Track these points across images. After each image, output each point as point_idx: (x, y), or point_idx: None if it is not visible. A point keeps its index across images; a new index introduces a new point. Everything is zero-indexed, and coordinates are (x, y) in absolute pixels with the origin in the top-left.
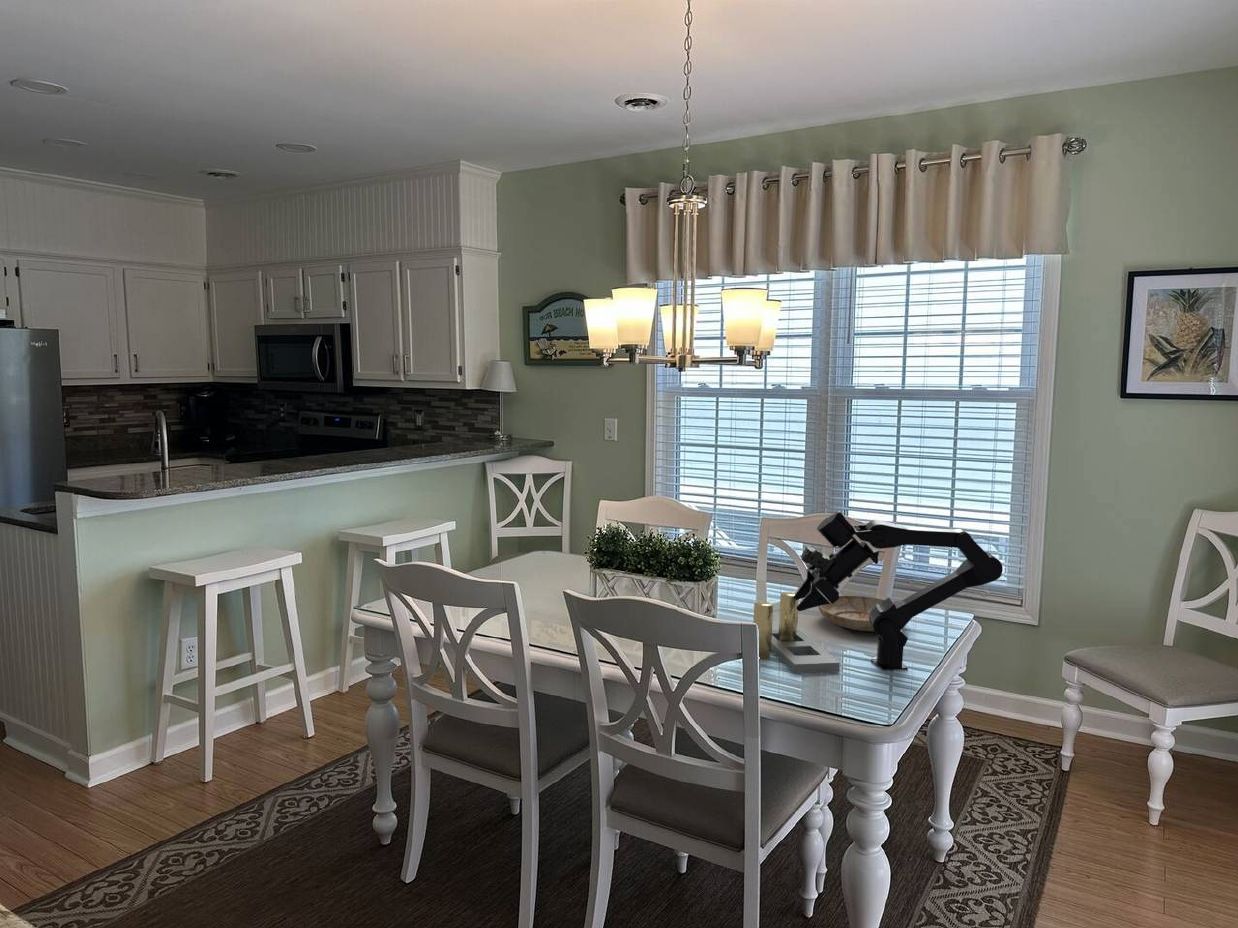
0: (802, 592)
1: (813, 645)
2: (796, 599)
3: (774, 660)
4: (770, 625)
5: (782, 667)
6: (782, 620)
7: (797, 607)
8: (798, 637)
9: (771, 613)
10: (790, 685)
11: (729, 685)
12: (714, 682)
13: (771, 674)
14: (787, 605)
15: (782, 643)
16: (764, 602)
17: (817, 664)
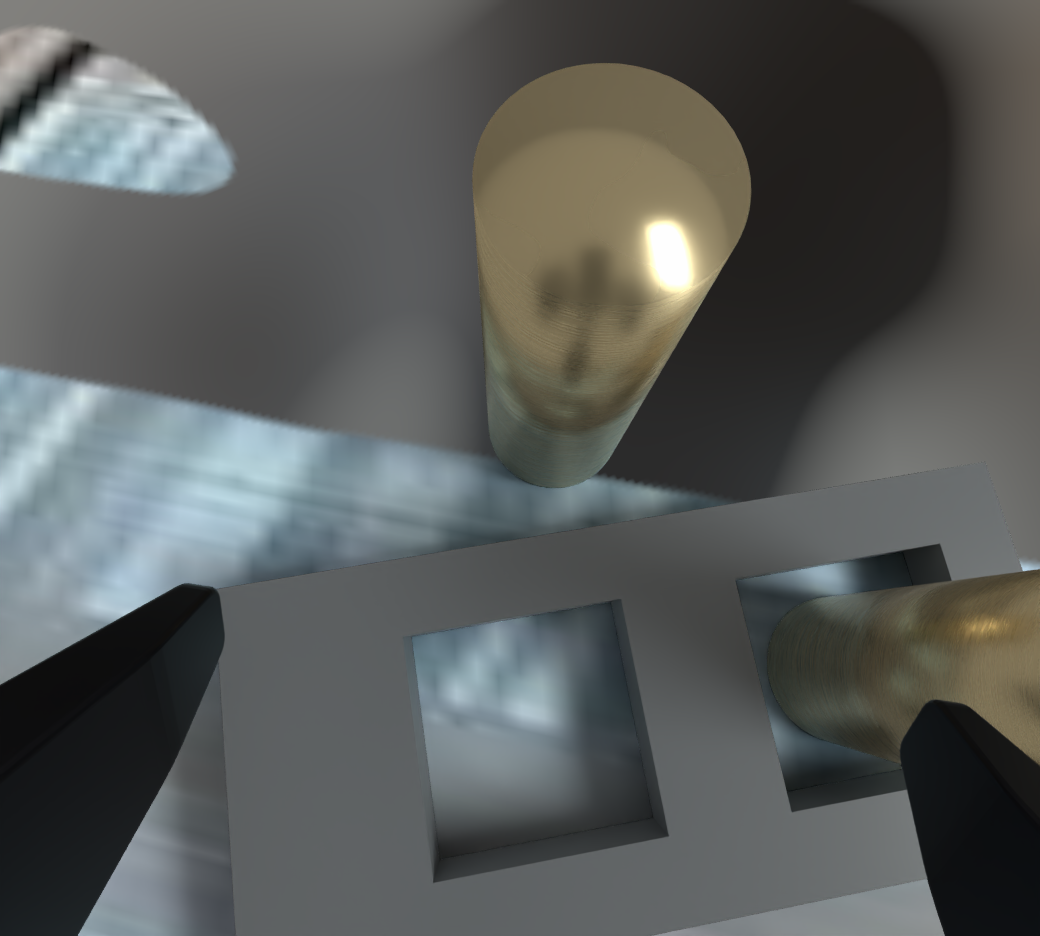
0: (1027, 930)
1: (683, 870)
2: (902, 749)
3: (484, 503)
4: (507, 375)
5: (346, 531)
6: (906, 600)
7: (167, 601)
8: None
9: (512, 320)
10: (11, 516)
11: (55, 160)
12: (109, 92)
13: (216, 431)
14: (1015, 641)
15: (699, 593)
16: (711, 206)
17: (229, 789)
